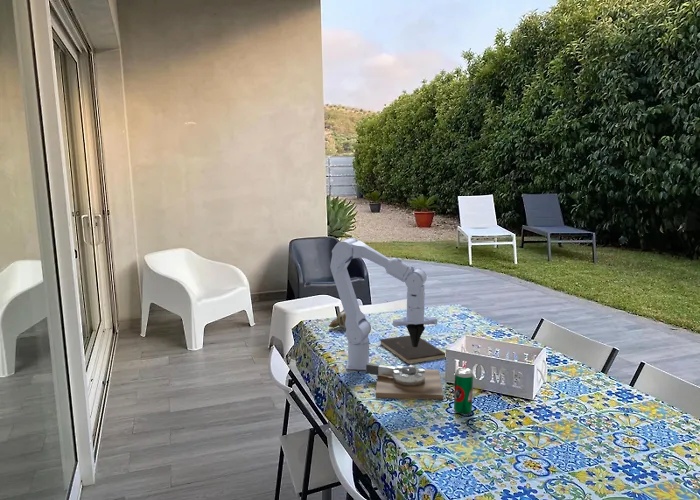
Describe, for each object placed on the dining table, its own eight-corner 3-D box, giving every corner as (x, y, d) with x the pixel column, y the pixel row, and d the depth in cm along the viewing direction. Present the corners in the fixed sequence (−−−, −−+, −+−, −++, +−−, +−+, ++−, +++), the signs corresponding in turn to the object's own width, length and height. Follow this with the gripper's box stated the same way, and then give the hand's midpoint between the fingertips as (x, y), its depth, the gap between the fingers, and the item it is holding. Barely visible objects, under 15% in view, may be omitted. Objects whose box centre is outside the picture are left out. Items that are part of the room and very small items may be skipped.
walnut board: (378, 372, 188) (378, 367, 188) (438, 373, 186) (438, 369, 186) (375, 397, 168) (375, 392, 168) (443, 399, 167) (443, 394, 166)
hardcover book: (407, 365, 195) (407, 359, 195) (379, 345, 216) (379, 339, 216) (447, 359, 201) (447, 353, 201) (416, 340, 222) (416, 334, 222)
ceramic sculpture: (364, 304, 240) (349, 315, 227) (364, 323, 242) (350, 335, 229) (341, 301, 244) (326, 312, 231) (342, 320, 246) (327, 332, 233)
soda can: (472, 415, 157) (473, 375, 155) (453, 414, 158) (454, 373, 156) (471, 407, 161) (473, 368, 159) (453, 406, 162) (455, 366, 160)
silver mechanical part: (428, 376, 180) (428, 366, 179) (420, 388, 171) (420, 377, 170) (372, 368, 187) (372, 358, 186) (361, 379, 178) (361, 368, 177)
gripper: (432, 302, 188) (431, 340, 191) (390, 304, 186) (390, 343, 188) (439, 307, 182) (438, 347, 184) (396, 309, 179) (395, 350, 181)
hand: (414, 346), depth 186 cm, fingers closed
